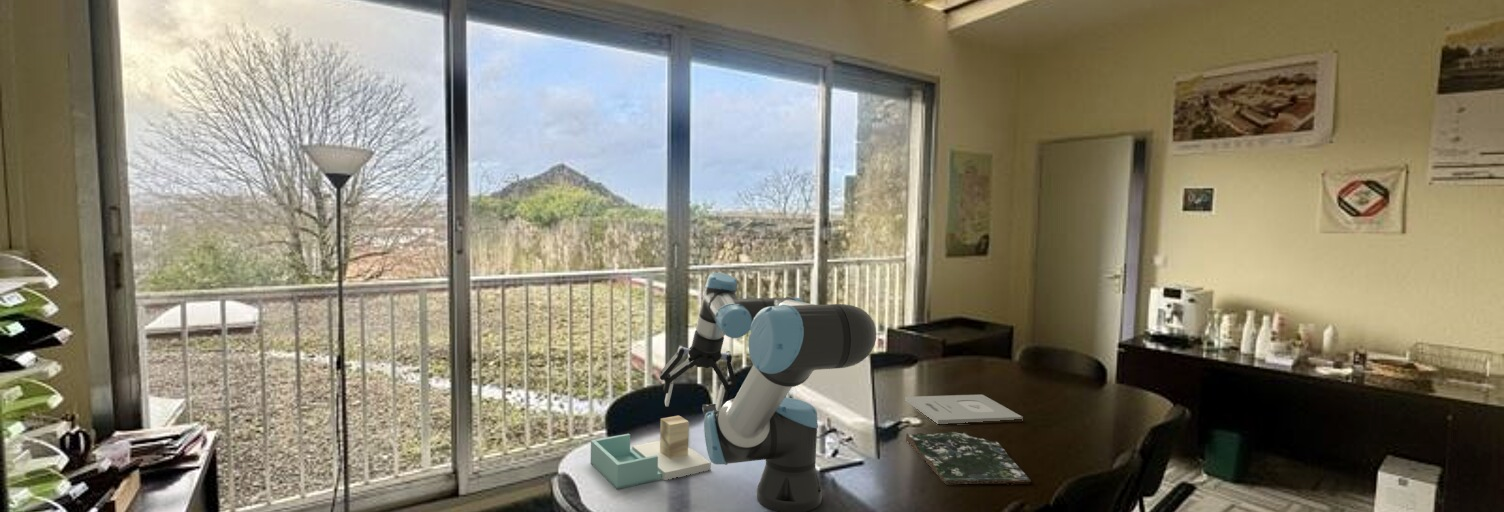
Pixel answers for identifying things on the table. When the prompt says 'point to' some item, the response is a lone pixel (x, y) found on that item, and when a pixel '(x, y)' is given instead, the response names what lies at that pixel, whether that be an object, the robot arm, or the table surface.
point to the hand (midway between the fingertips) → (692, 406)
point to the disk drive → (709, 408)
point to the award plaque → (961, 408)
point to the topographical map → (966, 458)
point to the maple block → (674, 436)
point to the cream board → (673, 461)
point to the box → (622, 462)
